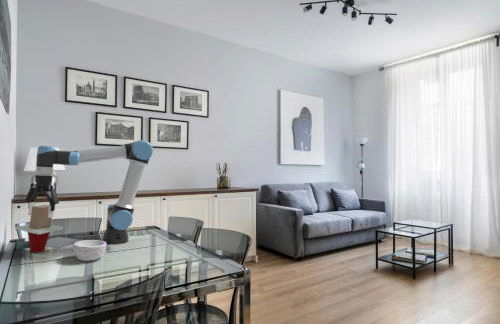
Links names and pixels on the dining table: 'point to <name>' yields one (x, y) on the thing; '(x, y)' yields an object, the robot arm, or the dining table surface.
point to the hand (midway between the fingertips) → (40, 216)
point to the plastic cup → (38, 241)
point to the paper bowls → (89, 249)
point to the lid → (39, 221)
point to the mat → (60, 242)
